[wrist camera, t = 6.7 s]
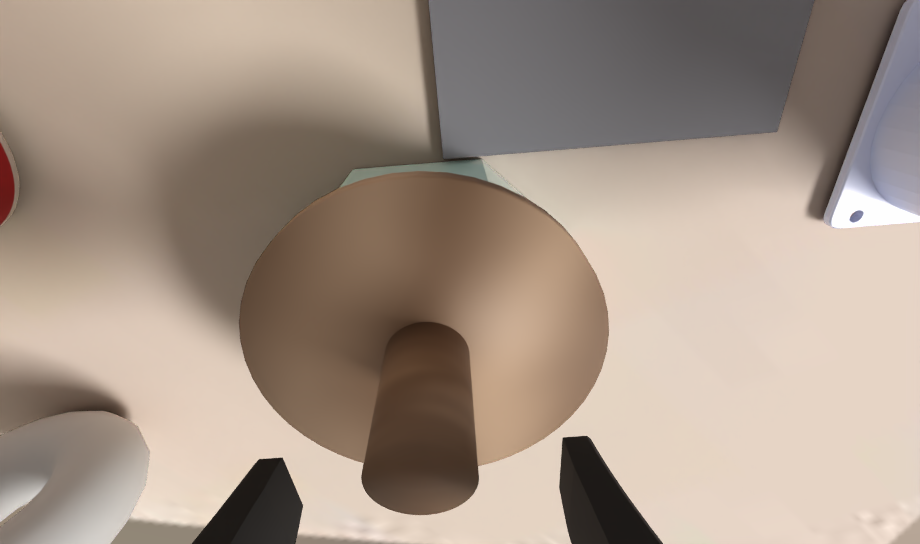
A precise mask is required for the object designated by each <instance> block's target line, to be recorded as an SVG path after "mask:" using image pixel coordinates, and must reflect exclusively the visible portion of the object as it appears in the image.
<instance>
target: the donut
mask: <svg viewBox="0 0 920 544" xmlns="http://www.w3.org/2000/svg"><path fill="white" fill-rule="evenodd" d="M149 455H150V451H149V449H148V447H147V445H146V443H145V440H144V438H143V436H142V434H141V432H140V430H139V428H138V426H136V425H135V424H134V423H132V422H131V421H129V420H127V419H125V418H122V417H120V416H118V415H116V414H114V413H110V412H106V411H75V412H67V413H63V414H59V415H54V416H50V417H46V418H42V419H39V420H36V421H34V422H31V423H29V424H26V425H24V426H21V427H19V428H16V429H14V430H11V431H9V432H6V433H4V434H2V435H0V522H1V521H2V520H3V519H5V518H6V517H7V516H8V515H9V514H11V513H12V512H14V511H15V510H16V509H17V508H19V507H21V506H22V505H24V504H26V503H27V502H29V501H30V500H31V501H30V502H29V503H28V504H27V505H26V506H25V507H24V508H23V509H22V510H21V511H20V512H18V513H17V514H16V515H15V516H13V517H12V518H11V519H9V520H8V521H7V522H6V523H4V524H3V525H2V526H0V544H110V543H111V542H112V541H113V539H114V538H115V537H116V535H117V534H118V533H119V532H120V530H121V529H122V528H123V526H124V525H125V523H126V522H127V521H128V519H129V517H130V515H131V513H132V511H133V509H134V507H135V505H136V503H137V501H138V499H139V497H140V495H141V493H142V491H143V489H144V487H145V485H146V480H147V473H148V466H149Z"/></svg>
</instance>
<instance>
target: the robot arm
mask: <svg viewBox="0 0 920 544" xmlns="http://www.w3.org/2000/svg"><path fill="white" fill-rule="evenodd" d="M853 212H855V213H854V214H853V215H852V216H851V214H852V213H853ZM850 216H851V217H850ZM823 220H824V223H825V224H827V225H829V226H831V227H833V228H851V227H864V226H876V225H889V224H902V223H914V222H920V0H907V1H906V2H905V3H904V4H903V6H902V8H901V10H900V12H899V15H898V17H897V20H896V23H895V26H894V28H893V31H892V34H891V36H890V39H889V42H888V44H887V47H886V50H885V52H884V55H883V58H882V60H881V63H880V66H879V69H878V71H877V74H876V77H875V79H874V82H873V85H872V87H871V90H870V93H869V95H868V98H867V101H866V103H865V106H864V109H863V112H862V114H861V117H860V120H859V122H858V125H857V128H856V130H855V133H854V136H853V138H852V141H851V144H850V147H849V149H848V152H847V155H846V157H845V160H844V163H843V165H842V168H841V171H840V173H839V176H838V179H837V181H836V184H835V187H834V190H833V192H832V195H831V198H830V200H829V203H828V206H827V208H826V211H825V214H824V218H823ZM559 488H560V494H561V499H562V504H563V509H564V514H565V519H566V524H567V529H568V533H569V536H570V540H571V543H572V544H663V543H662V542H661V540H660V539H659V538H658V536H657V535H656V534H655V533H654V531H653V530H652V529H651V527H650V526H649V525H648V523H647V522H646V521H645V519H644V518H643V517H642V515H641V514H640V513H639V511H638V510H637V508H636V507H635V506H634V504H633V503H632V502H631V500H630V499H629V497H628V496H627V495H626V493H625V492H624V490H623V489H622V487H621V486H620V484H619V483H618V482H617V480H616V479H615V477H614V476H613V474H612V473H611V471H610V470H609V468H608V467H607V465H606V463H605V462H604V460H603V459H602V457H601V455H600V454H599V452H598V451H597V449H596V447H595V446H594V444H593V442H592V440H591V439H590V438H589V437H588V436H578V437H564V438H563V441H562V456H561V470H560V485H559ZM302 508H303V505H302V502H301V500H300V498H299V495H298V493H297V490H296V488H295V486H294V483H293V481H292V479H291V476H290V474H289V472H288V469H287V467H286V465H285V462H284V460H283V458H271V459H259V460H258V461H257V462H256V463H255V465H254V466H253V467H252V468H251V470H250V471H249V472H248V474H247V475H246V476H245V477H244V479H243V480H242V481H241V482H240V484H239V485H238V486H237V488H236V489H235V490H234V491H233V493H232V494H231V495H230V497H229V498H228V499H227V500H226V502H225V503H224V504H223V506H222V507H221V508H220V509H219V511H218V512H217V513H216V514H215V516H214V517H213V518H212V519H211V521H210V522H209V523H208V524H207V526H206V527H205V528H204V529H203V531H202V532H201V533H200V534H199V536H198V537H197V538H196V539H195V540H194V542H193V543H192V544H295V543H296V538H297V534H298V529H299V524H300V518H301V513H302Z"/></svg>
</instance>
